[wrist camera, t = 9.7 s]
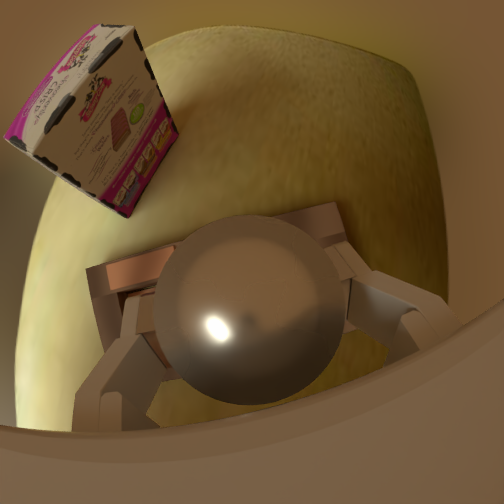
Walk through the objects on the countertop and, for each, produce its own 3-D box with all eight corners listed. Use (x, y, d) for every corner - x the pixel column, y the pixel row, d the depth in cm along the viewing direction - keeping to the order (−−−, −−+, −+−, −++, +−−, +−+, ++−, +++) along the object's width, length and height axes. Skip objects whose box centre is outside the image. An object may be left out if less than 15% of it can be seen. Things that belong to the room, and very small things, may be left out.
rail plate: (125, 381, 26) (115, 388, 23) (97, 270, 27) (84, 268, 25) (360, 321, 27) (371, 324, 24) (328, 208, 29) (335, 200, 26)
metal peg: (216, 352, 13) (186, 421, 5) (193, 272, 14) (134, 243, 6) (296, 329, 13) (363, 370, 6) (273, 250, 14) (314, 195, 6)
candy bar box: (146, 122, 30) (94, 21, 14) (180, 134, 30) (139, 23, 13) (95, 203, 28) (-2, 137, 12) (128, 221, 28) (31, 154, 12)
